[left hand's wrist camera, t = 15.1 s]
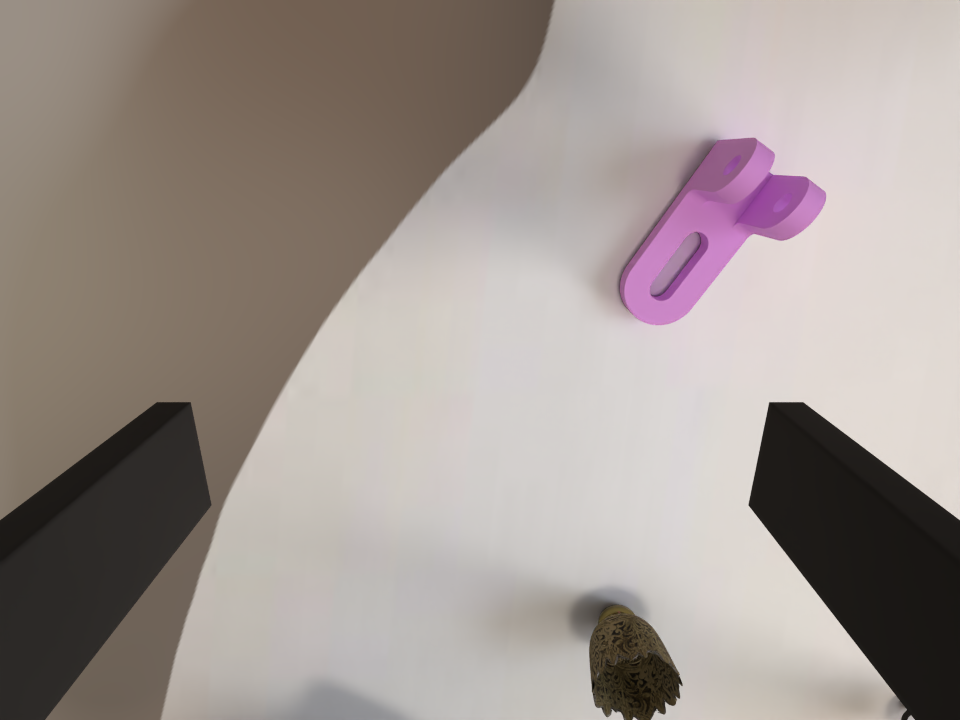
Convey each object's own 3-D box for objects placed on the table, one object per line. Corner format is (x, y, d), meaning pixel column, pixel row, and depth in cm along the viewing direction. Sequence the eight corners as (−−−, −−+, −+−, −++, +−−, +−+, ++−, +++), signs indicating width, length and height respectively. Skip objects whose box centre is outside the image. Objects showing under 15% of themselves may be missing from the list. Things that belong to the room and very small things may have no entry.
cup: (668, 600, 52) (700, 675, 44) (631, 653, 54) (655, 733, 47) (598, 575, 51) (619, 648, 43) (564, 631, 53) (577, 709, 46)
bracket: (717, 140, 38) (767, 136, 31) (777, 185, 39) (837, 190, 32) (605, 295, 42) (628, 321, 35) (662, 332, 43) (695, 364, 36)
